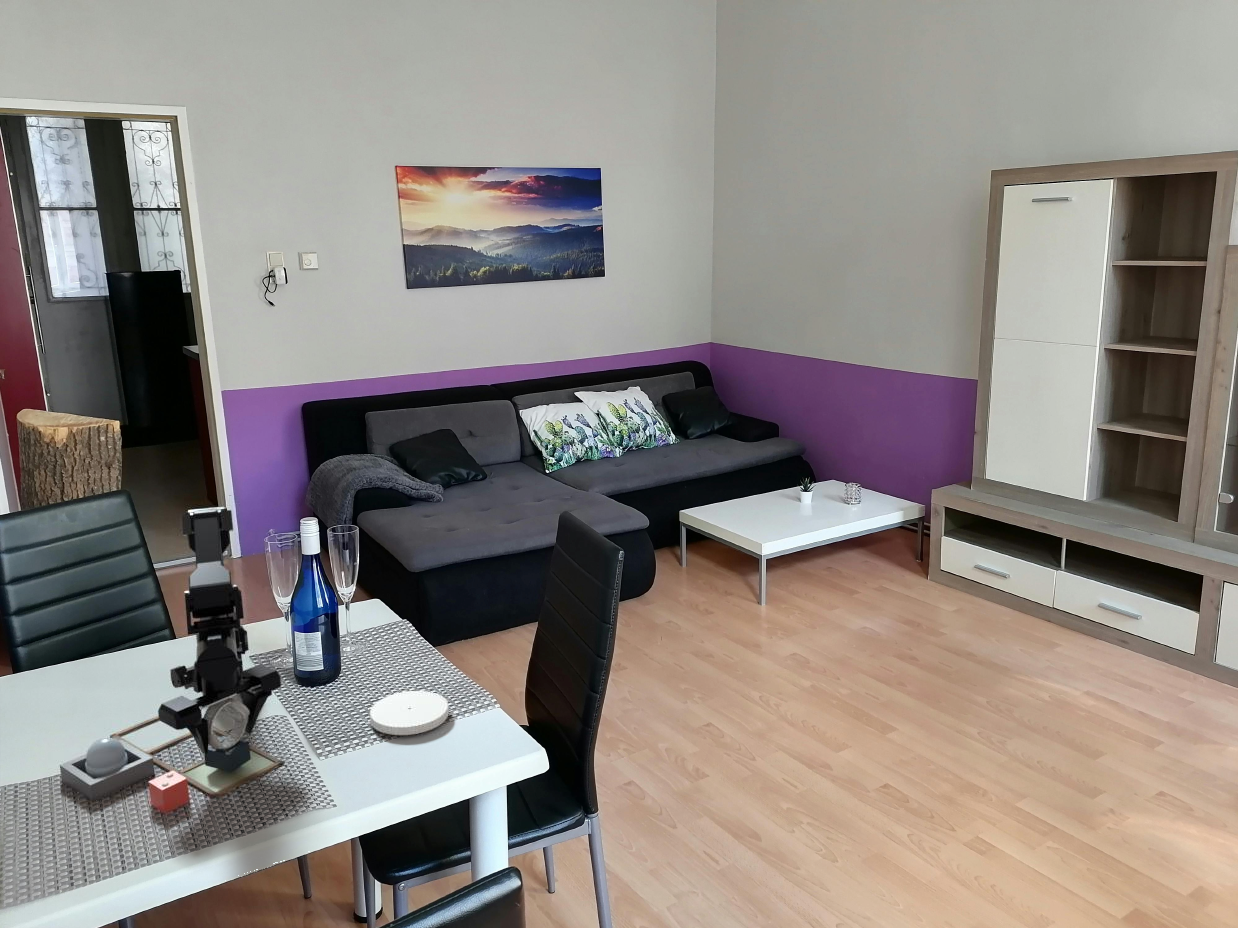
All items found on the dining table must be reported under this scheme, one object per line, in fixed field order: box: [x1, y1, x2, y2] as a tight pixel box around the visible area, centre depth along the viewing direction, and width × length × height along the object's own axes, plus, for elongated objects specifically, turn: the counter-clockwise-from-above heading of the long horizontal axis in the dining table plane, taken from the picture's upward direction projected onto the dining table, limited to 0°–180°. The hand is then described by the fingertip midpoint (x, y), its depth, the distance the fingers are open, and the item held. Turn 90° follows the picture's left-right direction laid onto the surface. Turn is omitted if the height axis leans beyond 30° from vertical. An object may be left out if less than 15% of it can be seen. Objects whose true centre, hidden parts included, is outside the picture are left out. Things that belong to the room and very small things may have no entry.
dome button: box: [85, 737, 128, 779], centre depth 155 cm, size 6×6×6 cm
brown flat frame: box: [109, 715, 284, 799], centre depth 164 cm, size 13×32×1 cm, turn 54°
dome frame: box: [59, 739, 156, 803], centre depth 155 cm, size 10×10×3 cm
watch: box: [202, 697, 251, 772], centre depth 156 cm, size 6×8×11 cm
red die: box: [147, 771, 191, 814], centre depth 148 cm, size 4×4×4 cm
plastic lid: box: [369, 690, 450, 736], centre depth 174 cm, size 14×14×2 cm
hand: (227, 742), depth 157 cm, fingers closed on watch, 7 cm apart
